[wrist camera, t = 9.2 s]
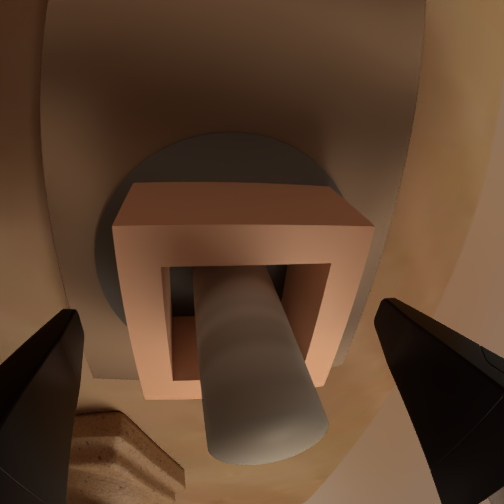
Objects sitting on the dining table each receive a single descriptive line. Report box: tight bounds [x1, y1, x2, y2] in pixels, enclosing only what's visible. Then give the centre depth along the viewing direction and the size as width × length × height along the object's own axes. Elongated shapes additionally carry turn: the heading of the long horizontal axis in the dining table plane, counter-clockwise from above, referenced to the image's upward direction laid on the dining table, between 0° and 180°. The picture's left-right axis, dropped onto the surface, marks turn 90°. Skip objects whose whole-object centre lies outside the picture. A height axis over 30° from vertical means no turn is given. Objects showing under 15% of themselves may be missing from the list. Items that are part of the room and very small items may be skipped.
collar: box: [112, 182, 376, 400], centre depth 10 cm, size 6×6×3 cm
